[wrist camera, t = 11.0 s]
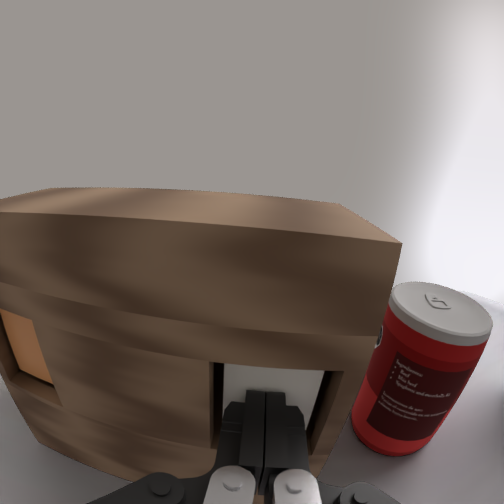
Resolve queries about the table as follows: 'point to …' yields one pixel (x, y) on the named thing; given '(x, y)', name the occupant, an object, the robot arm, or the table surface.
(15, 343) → the orange key
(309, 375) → the white key
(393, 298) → the canned food
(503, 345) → the table surface
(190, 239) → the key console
